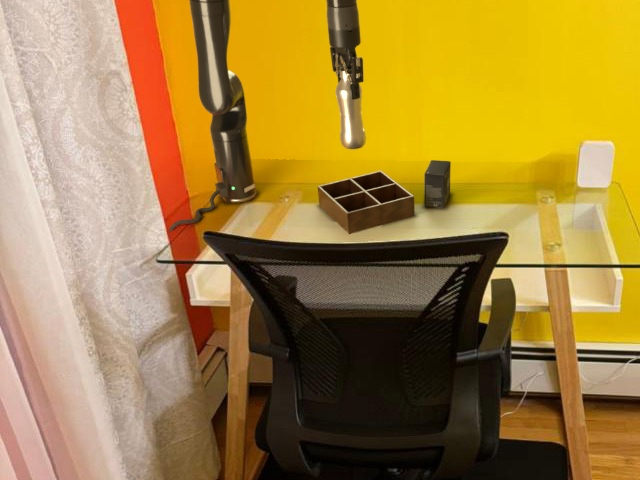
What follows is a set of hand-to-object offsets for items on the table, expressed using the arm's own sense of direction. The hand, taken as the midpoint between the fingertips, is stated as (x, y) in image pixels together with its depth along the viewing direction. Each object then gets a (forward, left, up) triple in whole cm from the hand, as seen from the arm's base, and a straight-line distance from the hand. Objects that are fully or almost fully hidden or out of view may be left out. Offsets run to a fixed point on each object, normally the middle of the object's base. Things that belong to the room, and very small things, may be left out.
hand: (349, 94), depth 196 cm
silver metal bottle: (0, 0, -14) cm, 14 cm away
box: (+18, -13, -28) cm, 36 cm away
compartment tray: (-1, -8, -28) cm, 29 cm away
